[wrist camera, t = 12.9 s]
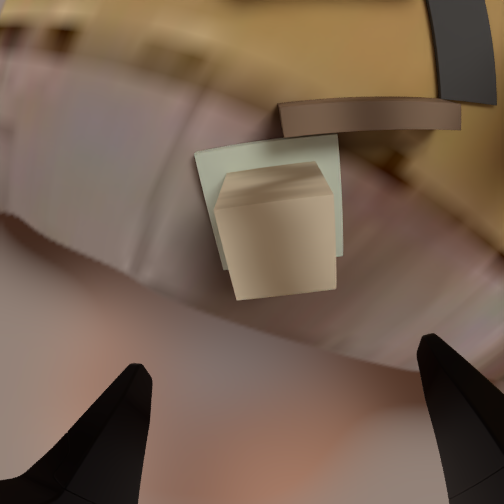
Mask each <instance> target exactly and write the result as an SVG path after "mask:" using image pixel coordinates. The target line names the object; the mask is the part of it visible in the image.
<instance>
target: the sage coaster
mask: <svg viewBox="0 0 504 504" xmlns="http://www.w3.org/2000/svg"><path fill="white" fill-rule="evenodd" d="M194 156H195V160H196V164H197V169H198V173H199V177H200V181H201V185H202V189H203V193H204V197H205V201H206V205H207V209H208V213H209V217H210V221H211V225H212V228H213V232H214V236H215V240H216V244H217V248H218V251H219V255H220V259H221V263H222V266H223V270H229V269H228V265H227V262H226V258H225V254H224V250H223V246H222V242H221V238H220V234H219V230H218V226H217V222H216V218H215V214H214V207H215V204H216V202H217V199H218V196H219V193H220V190H221V188H222V185H223V182H224V179H225V177H226V174H227V173H230V172H237V171H243V170H250V169H256V168H263V167H271V166H278V165H286V164H294V163H303V162H312V161H315V162H316V163H317V165H318V167H319V169H320V170H321V172H322V174H323V176H324V178H325V179H326V181H327V183H328V185H329V187H330V189H331V190H332V192H333V194H334V210H335V234H336V257H339V256H343V218H342V192H341V173H340V158H339V145H338V134H337V133H324V134H313V135H303V136H294V137H286V138H276V139H269V140H261V141H255V142H248V143H242V144H236V145H230V146H224V147H218V148H213V149H208V150H202V151H197V152H196V153H195V154H194Z"/></svg>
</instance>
